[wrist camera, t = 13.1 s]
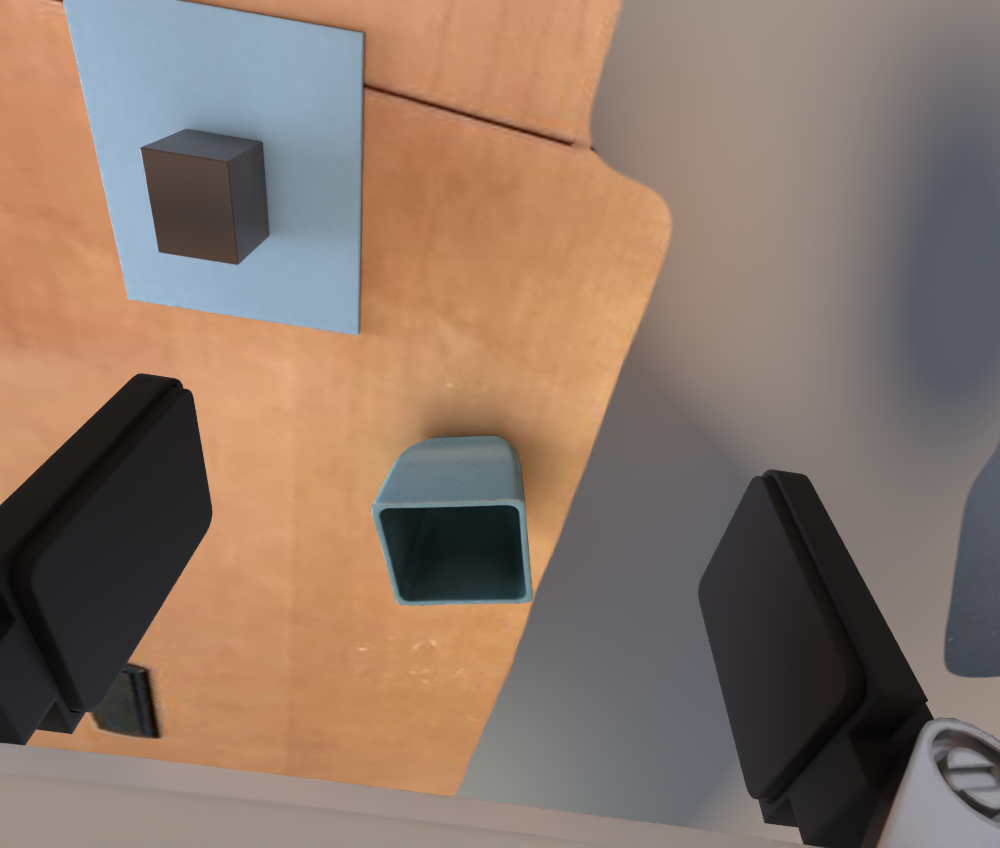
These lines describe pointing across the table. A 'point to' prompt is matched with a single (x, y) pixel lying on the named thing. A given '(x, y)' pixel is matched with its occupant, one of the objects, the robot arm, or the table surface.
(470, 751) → the table surface
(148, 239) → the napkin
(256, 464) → the table surface
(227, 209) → the walnut block
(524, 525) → the flower pot
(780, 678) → the robot arm
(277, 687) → the table surface
